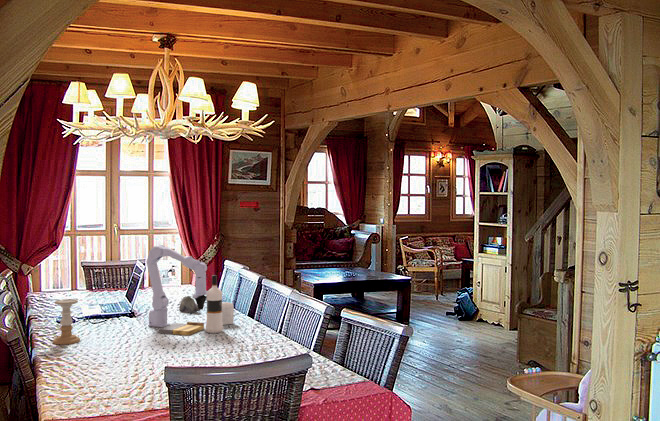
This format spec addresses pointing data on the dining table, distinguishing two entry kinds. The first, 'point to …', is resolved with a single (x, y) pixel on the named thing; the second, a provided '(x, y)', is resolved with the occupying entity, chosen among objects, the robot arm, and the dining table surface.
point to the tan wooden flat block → (189, 328)
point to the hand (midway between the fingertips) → (200, 309)
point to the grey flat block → (170, 328)
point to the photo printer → (227, 313)
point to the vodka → (214, 308)
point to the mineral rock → (188, 305)
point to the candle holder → (66, 323)
